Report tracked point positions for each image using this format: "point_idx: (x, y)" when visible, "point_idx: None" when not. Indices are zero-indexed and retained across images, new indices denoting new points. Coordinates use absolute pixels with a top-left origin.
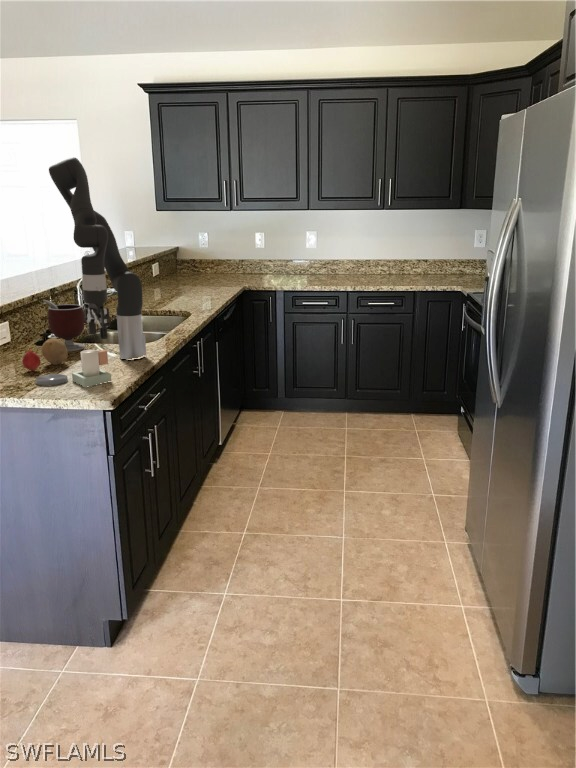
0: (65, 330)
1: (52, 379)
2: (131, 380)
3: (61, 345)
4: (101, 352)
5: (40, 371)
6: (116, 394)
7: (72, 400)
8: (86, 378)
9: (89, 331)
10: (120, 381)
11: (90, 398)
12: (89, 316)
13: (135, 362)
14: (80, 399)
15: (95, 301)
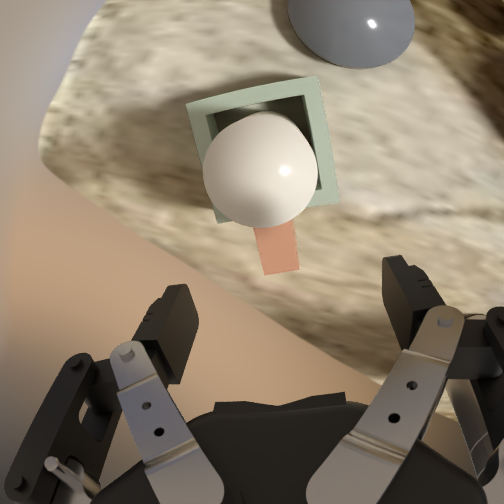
0: None
1: (331, 5)
2: (217, 276)
3: None
4: (257, 241)
5: (500, 40)
6: (83, 191)
7: (77, 54)
8: (188, 114)
9: (396, 266)
10: (222, 241)
11: (73, 108)
12: (382, 388)
13: None
14: (75, 78)
15: None
